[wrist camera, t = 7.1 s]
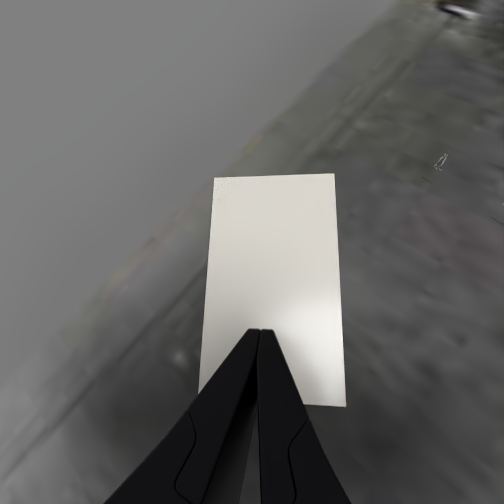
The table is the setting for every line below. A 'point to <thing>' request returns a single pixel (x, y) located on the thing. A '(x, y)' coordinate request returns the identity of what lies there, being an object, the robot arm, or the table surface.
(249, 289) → the tile
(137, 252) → the table surface
